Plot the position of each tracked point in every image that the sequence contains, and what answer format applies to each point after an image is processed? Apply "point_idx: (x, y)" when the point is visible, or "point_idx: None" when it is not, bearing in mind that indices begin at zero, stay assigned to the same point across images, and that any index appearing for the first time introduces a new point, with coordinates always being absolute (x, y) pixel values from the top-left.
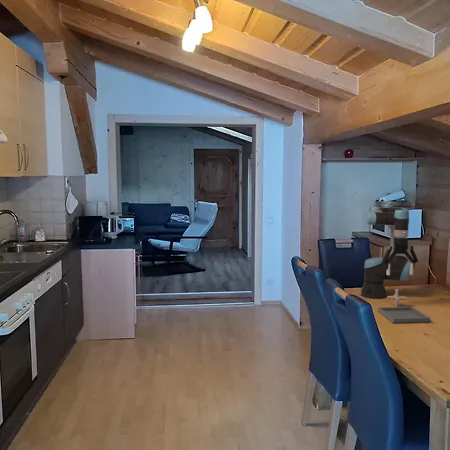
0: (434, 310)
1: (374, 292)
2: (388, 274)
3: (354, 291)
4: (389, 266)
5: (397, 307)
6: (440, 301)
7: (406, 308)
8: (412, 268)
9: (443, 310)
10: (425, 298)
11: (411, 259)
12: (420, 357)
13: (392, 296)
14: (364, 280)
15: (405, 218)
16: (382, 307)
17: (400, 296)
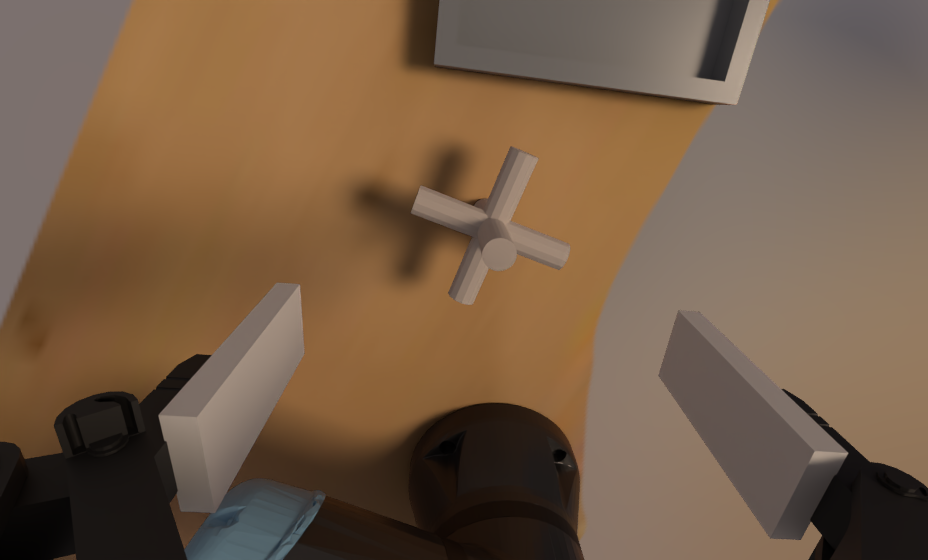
0: (227, 40)
1: (534, 442)
2: (704, 322)
3: None
4: (786, 406)
5: (575, 66)
6: (68, 270)
7: (493, 51)
8: (241, 342)
9: (144, 22)
10: (157, 358)
11: (146, 527)
12: None
13: (532, 240)
14: None
15: None
16: (701, 95)
17: (463, 220)
